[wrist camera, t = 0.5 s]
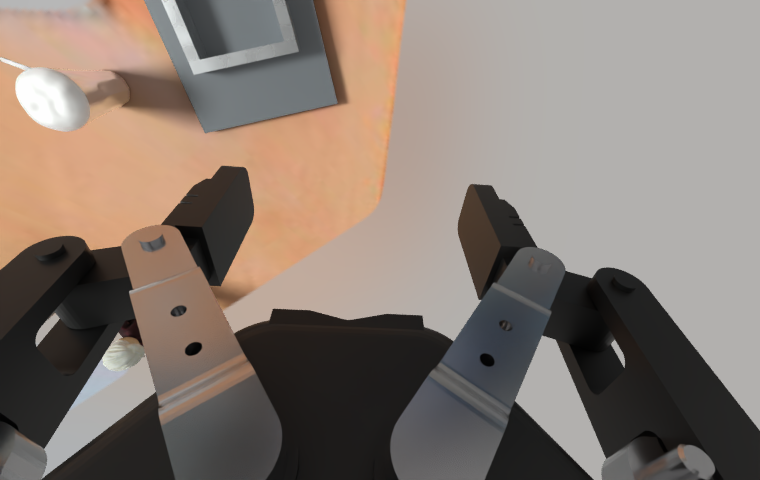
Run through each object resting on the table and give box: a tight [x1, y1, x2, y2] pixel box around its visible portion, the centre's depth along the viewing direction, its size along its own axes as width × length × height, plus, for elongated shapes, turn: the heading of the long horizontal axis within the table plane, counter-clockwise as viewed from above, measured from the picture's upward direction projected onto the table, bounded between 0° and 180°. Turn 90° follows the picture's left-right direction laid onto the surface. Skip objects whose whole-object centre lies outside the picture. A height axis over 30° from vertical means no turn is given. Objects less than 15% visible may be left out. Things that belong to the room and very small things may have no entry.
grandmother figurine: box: [102, 319, 145, 371], centre depth 39 cm, size 8×4×13 cm, turn 39°
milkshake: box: [0, 57, 130, 132], centre depth 28 cm, size 5×5×10 cm
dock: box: [144, 0, 338, 133], centre depth 29 cm, size 20×14×4 cm
